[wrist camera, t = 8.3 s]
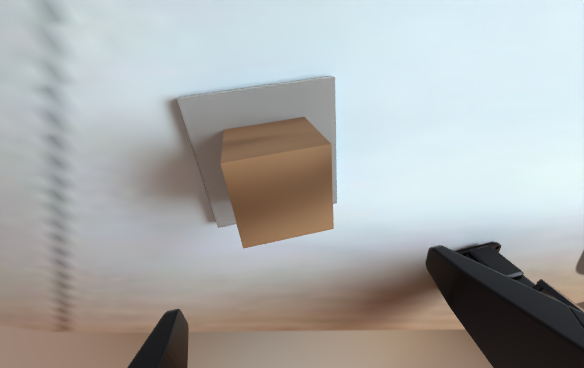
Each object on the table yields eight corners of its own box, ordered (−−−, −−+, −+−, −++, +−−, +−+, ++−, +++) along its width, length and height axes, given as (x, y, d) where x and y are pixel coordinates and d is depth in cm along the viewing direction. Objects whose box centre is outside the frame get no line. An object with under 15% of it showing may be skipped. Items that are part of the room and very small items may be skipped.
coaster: (333, 198, 22) (336, 203, 22) (218, 221, 21) (218, 227, 20) (330, 75, 17) (334, 77, 17) (179, 96, 16) (177, 99, 15)
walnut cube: (309, 185, 20) (333, 228, 15) (240, 198, 19) (243, 248, 15) (304, 116, 17) (331, 143, 13) (223, 129, 17) (220, 163, 12)
